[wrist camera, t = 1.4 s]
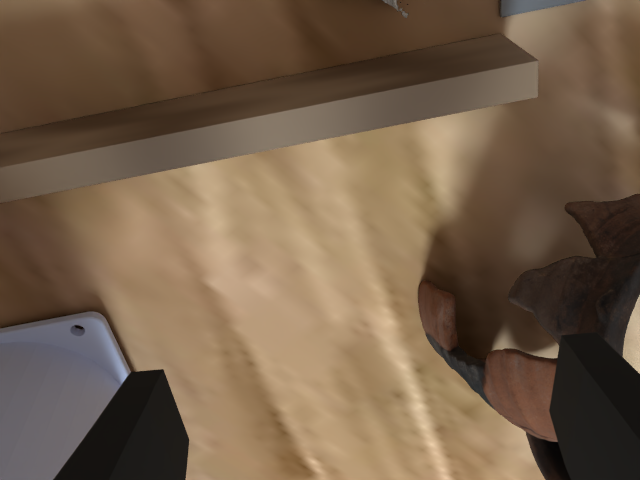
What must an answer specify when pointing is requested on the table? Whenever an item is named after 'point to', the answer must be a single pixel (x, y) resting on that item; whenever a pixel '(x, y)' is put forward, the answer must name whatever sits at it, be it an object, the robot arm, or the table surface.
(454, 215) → the table surface
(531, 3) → the slate coaster
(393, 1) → the vase
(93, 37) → the table surface
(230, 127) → the walnut tray
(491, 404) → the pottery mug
